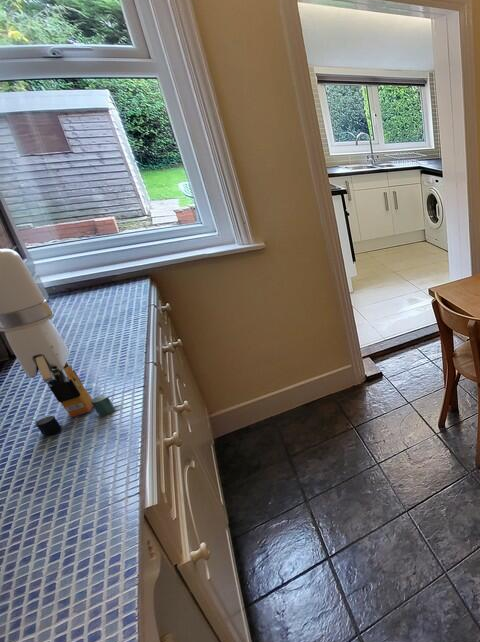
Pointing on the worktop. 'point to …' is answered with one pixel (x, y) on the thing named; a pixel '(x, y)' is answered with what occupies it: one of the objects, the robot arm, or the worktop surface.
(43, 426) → the black cylinder
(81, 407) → the supplement box
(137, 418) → the worktop surface
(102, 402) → the teal green cylinder
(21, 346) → the robot arm
